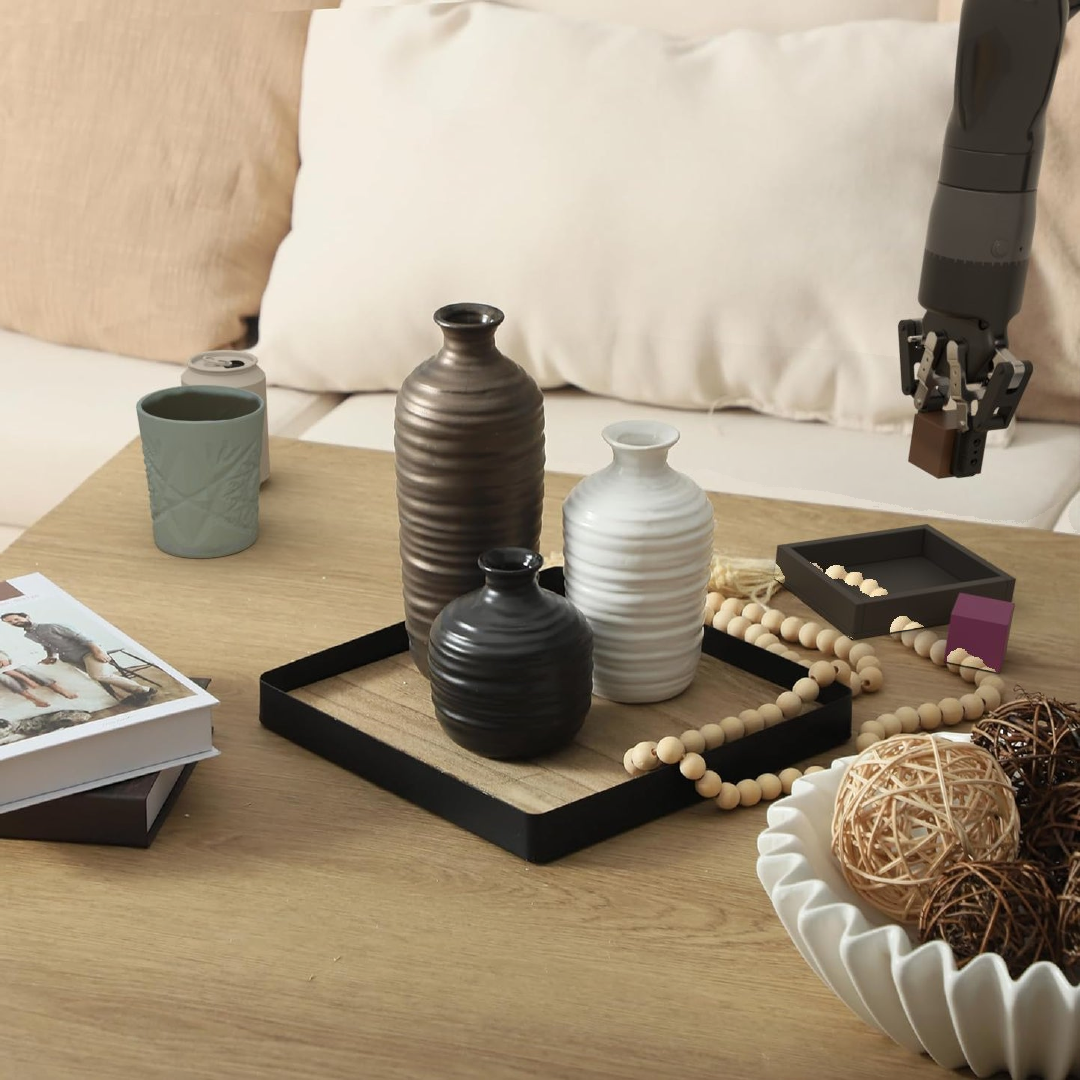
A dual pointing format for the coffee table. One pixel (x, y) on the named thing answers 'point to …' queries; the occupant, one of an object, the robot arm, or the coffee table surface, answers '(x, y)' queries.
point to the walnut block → (934, 442)
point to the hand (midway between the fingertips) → (944, 464)
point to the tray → (889, 578)
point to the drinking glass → (202, 467)
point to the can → (232, 383)
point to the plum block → (980, 628)
